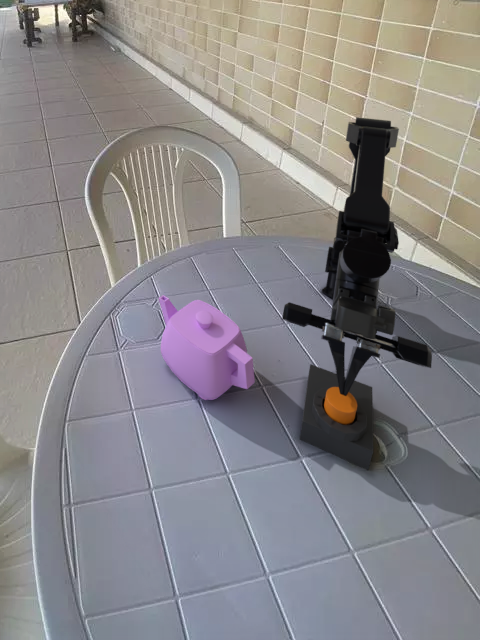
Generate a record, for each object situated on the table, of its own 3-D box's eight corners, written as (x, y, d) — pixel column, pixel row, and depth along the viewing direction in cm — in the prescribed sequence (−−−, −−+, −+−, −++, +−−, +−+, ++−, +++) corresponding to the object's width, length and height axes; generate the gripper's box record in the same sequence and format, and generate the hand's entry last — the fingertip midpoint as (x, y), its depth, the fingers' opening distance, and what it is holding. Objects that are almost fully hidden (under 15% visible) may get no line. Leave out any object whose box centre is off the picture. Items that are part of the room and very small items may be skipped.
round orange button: (325, 394, 66) (327, 382, 65) (354, 405, 64) (357, 394, 63) (322, 416, 62) (325, 404, 62) (354, 429, 60) (357, 417, 60)
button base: (307, 381, 74) (311, 356, 71) (367, 405, 69) (374, 378, 67) (299, 442, 65) (303, 415, 62) (368, 474, 60) (375, 446, 58)
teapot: (270, 387, 73) (277, 332, 68) (225, 435, 66) (229, 377, 62) (182, 319, 88) (183, 269, 84) (138, 352, 81) (136, 300, 77)
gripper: (290, 260, 64) (270, 370, 59) (446, 302, 55) (438, 436, 50) (292, 271, 73) (275, 367, 68) (426, 308, 64) (417, 422, 59)
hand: (342, 394), depth 61 cm, fingers closed
